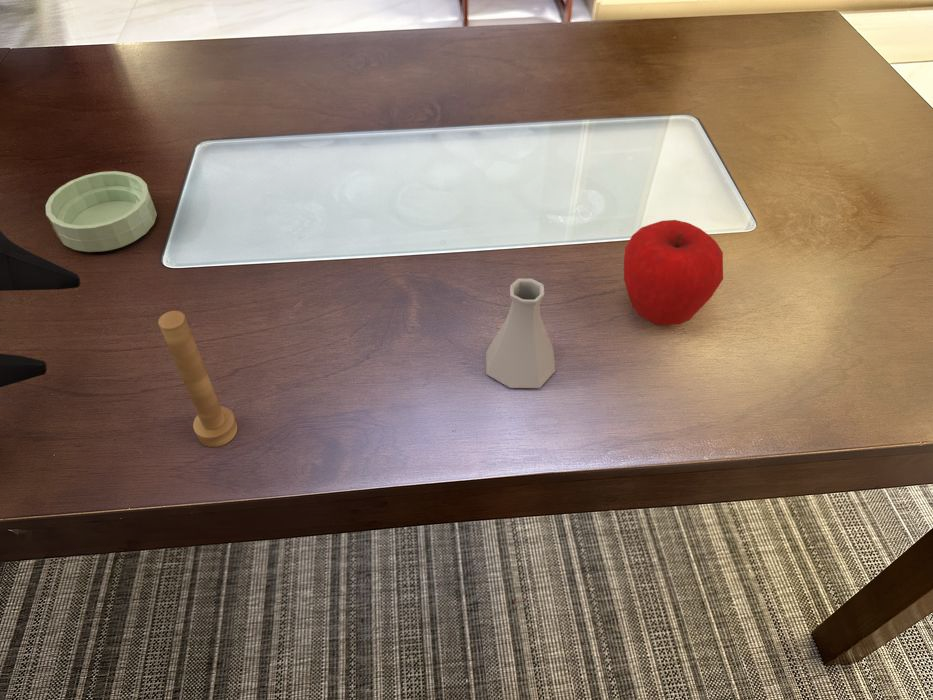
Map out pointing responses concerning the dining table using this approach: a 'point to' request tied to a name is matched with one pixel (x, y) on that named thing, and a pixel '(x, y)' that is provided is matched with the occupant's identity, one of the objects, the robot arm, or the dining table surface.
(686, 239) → the apple
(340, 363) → the dining table surface
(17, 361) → the robot arm
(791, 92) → the dining table surface
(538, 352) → the flask
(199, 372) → the tan wooden rod
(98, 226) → the bowl
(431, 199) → the dining table surface
